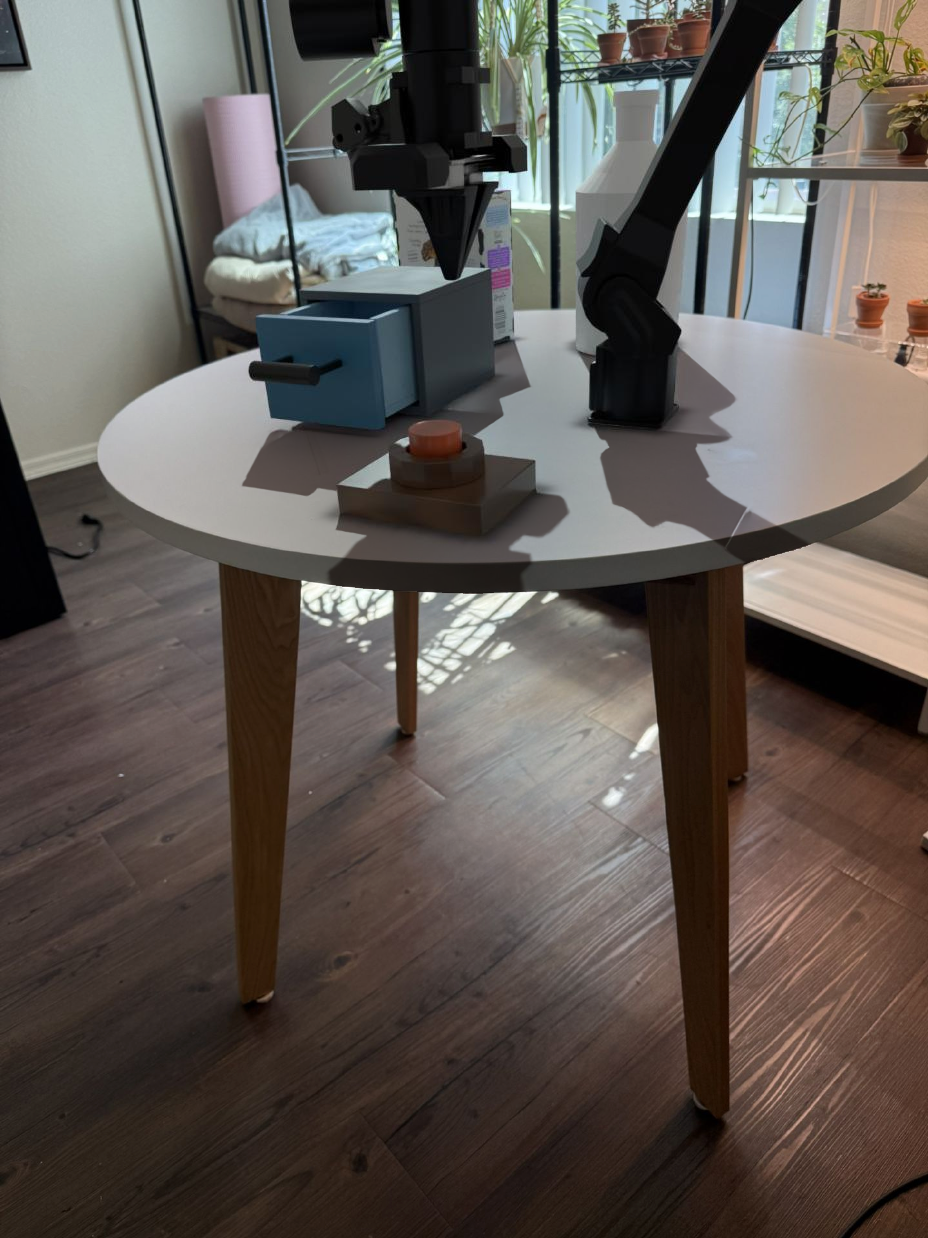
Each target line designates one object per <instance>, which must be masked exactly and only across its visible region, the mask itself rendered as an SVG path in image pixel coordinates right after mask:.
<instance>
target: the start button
mask: <svg viewBox="0 0 928 1238" xmlns="http://www.w3.org/2000/svg"><path fill="white" fill-rule="evenodd" d="M407 430H408V431H407V432H408V437H409V445H410V454H411V455H413V456H419V457H428V458H433V457H446V456H450V455H453V454H457V453H460V452H461V451H462V434H463V432H462V425H461V423H459V422H457V421H454V420H449V419H430V420H423V421H419V422H416V423H413V424H411V425H410V426H409V427H408V429H407Z"/></svg>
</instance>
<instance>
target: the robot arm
mask: <svg viewBox="0 0 928 1238" xmlns="http://www.w3.org/2000/svg"><path fill="white" fill-rule="evenodd" d="M803 1H804V0H727V3H726V6H725V9H724V12H723V14H722V16H721V18H720V20H719V22H718V25H717V27H716V29H715V31H714V33H713V35H712V37H711V39H710V40H709V42H708V45H707V47H706V49H705V51H704V52H703V55H702V57H701V59H700V62H699V63H698V65H697V68H695V69H696V70H695V72H694V73H693V76H692V77H691V80H690V82H689V84H688V86H687V88H686V90H685V91H684V94H683V96H682V98H681V99H680V102H679V104H678V107H677V109H676V110H675V113H674V115H673V117H672V119H671V121H670V123H669V125H668V127H667V129H666V131H665V133H664V135H663V137H662V139H661V141H660V143H659V145H658V149H657V151H656V154H655V156H654V158H653V160H652V162H651V164H650V166H649V168H648V170H647V172H646V174H645V176H644V178H643V180H642V182H641V184H640V186H639V188H638V190H637V192H636V194H635V197H634V199H633V200H632V202H631V203H630V205H629V206H628V207H627V209H626V210H625V211H624V212H623V214H622V215H621V216H620V217H619V219H618V220H617V221H616V222H615V224H614V225H613V226H612V225H611V224H610V223H609V222H607V221H606V220H605V219H603V218H602V217H599V218H598V221H597V223H596V226H595V230H594V233H593V236H592V240H591V242H590V245H589V247H588V249H587V250H586V252H585V254H584V255H583V256H582V257H581V258H580V259H579V260H578V261H577V262H576V261H575V265H576V264H577V267H578V269H579V272H580V276H579V280H578V294H579V297H580V300H581V304H582V307H583V310H584V313H585V316H586V318H587V319H588V320H589V322H590V323H591V324H592V326H594V327H595V328H596V329H598V330H599V331H601V332H603V333H605V334H606V336H607V337H608V339H606V340H605V341H603V342H602V343H600V344H599V345H597V346H596V355H595V360H593V361H592V362H591V363H590V364H589V375H588V376H589V378H588V380H589V383H588V409H589V410H590V411H591V413H590V414H589V415H587V421H586V422H587V423H589V424H595V425H597V424H598V425H604V426H605V425H607V426H617V427H627V428H635V429H636V428H638V429H649V430H661V429H662V428H663V427H664V426H666V424H667V423H668V422H669V421H670V420H671V419H672V418H673V417H674V416H675V414H677V412H679V410H680V404H679V403H677V402H675V398H676V397H675V395H676V381H677V369H678V368H677V367H678V356H679V355H678V353H679V339H680V337H681V335H682V332H683V331H682V328H681V327H680V325H679V323H678V324H677V323H676V321H675V320H674V319H673V318H672V316H671V315H670V314H669V312H668V311H667V310H666V308H665V307H664V306H663V305H662V304H661V303H660V302H659V301H658V300H657V296H658V293H659V290H660V287H661V285H662V282H663V279H664V276H665V273H666V269H667V265H668V261H669V257H670V253H671V249H672V244H673V240H674V236H675V232H676V229H677V226H678V224H679V222H680V220H681V218H682V216H683V214H684V212H685V210H686V208H687V206H688V207H689V205H688V204H690V202H691V201H692V198H693V197H694V195H695V193H696V191H697V189H698V187H699V185H700V183H701V181H702V179H703V177H704V175H705V174H706V171H707V169H708V167H709V166H710V164H711V162H712V160H713V158H714V156H715V155H716V152H717V150H718V148H719V147H720V145H721V142H722V141H723V139H724V137H725V135H726V133H727V131H728V129H729V128H730V125H731V123H732V121H733V120H734V118H735V115H736V114H737V112H738V109H739V108H740V106H741V104H742V102H743V100H744V99H745V96H746V95H747V93H748V90H749V89H750V87H751V85H752V83H753V81H754V79H755V77H756V75H757V73H758V71H759V70H760V67H761V66H762V64H763V61H764V60H765V58H766V56H767V54H768V52H769V50H770V49H771V46H772V44H773V43H774V40H775V38H776V37H777V34H778V33H779V32H780V30H781V28H782V27H783V26H784V24H785V23H786V22H787V20H788V19H789V18H790V17H791V16H792V15H793V13H794V12H795V11H796V9H797V8H798V7H799V6H800V5H801V3H802V2H803ZM397 6H398V21H399V22H398V23H399V32H400V33H399V34H400V35H399V36H400V49H401V63H402V64H401V65H402V66H401V67H402V71H392V72H391V77H390V78H389V79H388V86H389V89H388V90H389V98H387V99H385V100H383V101H381V102H379V103H372V104H371V103H370V104H369V105H368V106H367V107H366V106H365V104H364V103H362V101H360V99H359V98H343V99H342V100H339V101H338V102H336V103H335V104H333V105H331V107H330V110H331V111H330V112H331V113H330V114H331V117H330V118H331V133H332V137H333V138H332V143H331V144H332V147H333V148H334V149H335V150H337V151H340V152H343V153H346V155H347V158H348V161H349V167H350V176H351V189H352V191H356V192H357V191H358V192H359V191H365V192H366V191H394V194H396V195H397V196H398V197H403V198H404V199H406V200H407V201H408V202H409V203H410V204H411V205H412V206H413V207H414V208H416V209H417V210H418V212H419V213H420V215H421V217H422V220H423V222H424V224H425V227H426V229H427V232H428V235H429V237H430V240H431V243H432V246H433V249H434V251H435V254H436V257H437V260H438V263H439V265H440V268H441V271H442V274H443V277H444V279H445V280H449V281H455V280H458V279H460V277H461V275H462V272H463V269H464V267H465V264H466V261H467V258H468V256H469V253H470V250H471V248H472V245H473V242H474V239H475V237H476V234H477V232H478V229H479V226H480V224H481V221H482V219H483V217H484V214H485V212H486V209H487V207H488V205H489V202H490V200H491V198H492V195H493V193H494V191H495V190H498V189H499V186H500V181H499V180H490V181H489V180H488V181H485V180H484V173H504V172H505V173H506V172H507V173H508V174H517V173H523V172H528V171H529V170H528V168H529V167H528V145H527V144H526V143H525V141H524V140H522V138H521V137H520V136H519V135H518V134H516V133H515V134H496V135H495V134H493V130H483V115H482V114H483V113H482V112H483V111H482V86H481V85H490V84H492V82H491V81H492V80H491V79H492V78H491V67H482V66H481V57H480V56H481V55H480V53H481V52H480V25H479V23H480V22H479V21H480V20H479V0H397ZM288 9H289V16H290V24H291V29H292V35H293V39H294V42H295V46H296V49H297V52H298V55H299V58H300V59H301V60H302V61H303V62H306V63H307V62H319V61H320V62H322V61H336V60H337V61H339V60H352V59H354V60H355V59H369V58H378V57H379V56H380V52H381V44H384V43H388V41H392V40H393V36H394V20H393V3H392V0H288ZM590 411H589V412H590Z"/></svg>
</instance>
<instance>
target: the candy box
mask: <svg viewBox="0 0 928 1238" xmlns="http://www.w3.org/2000/svg"><path fill="white" fill-rule="evenodd" d="M391 197H392V206H393V216H394V228H395V238H396V249H397V250H396V252H397V261H398V266H417V267H440V265H439V263H438V260H437V257H436V254H435V251H434V249H433V246H432V243H431V240H430V237H429V235H428V232H427V229H426V227H425V224H424V222H423V220H422V217H421V215H420V213H419V212H418V210H417V209H416V208H414V207H413V206H412V205H411V204H410V203H409V202H408V201H407V200H406V199H404V198H403V197H398V196H397V195H396V193H393V194H392V195H391ZM512 221H513V220H512V190H511V189H495V191H494V193H493V195H492V198H491V200H490V202H489V205H488V207H487V209H486V212H485V214H484V217H483V219H482V221H481V224H480V226H479V229H478V232H477V234H476V237H475V239H474V242H473V245H472V248H471V250H470V253H469V256H468V258H467V261H466V264H465V267H464V268H491V271H492V303H493V335H494V345H495V344H500V343H502V342H506V341H509V340H513V339H515V310H514V308H515V307H514V272H513V271H514V270H513V269H514V268H513V265H514V264H513V263H514V262H513V227H512V226H513V225H512V224H513V222H512Z"/></svg>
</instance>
